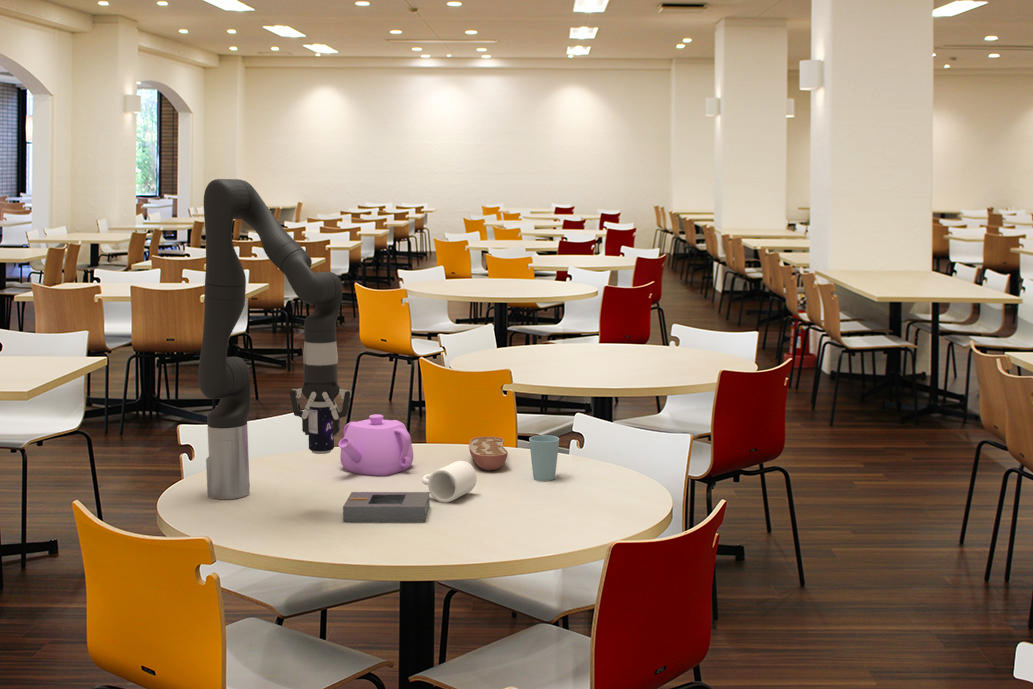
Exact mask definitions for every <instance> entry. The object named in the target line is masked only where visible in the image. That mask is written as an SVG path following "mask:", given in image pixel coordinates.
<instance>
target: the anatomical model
mask: <svg viewBox="0 0 1033 689" xmlns="http://www.w3.org/2000/svg"><path fill="white" fill-rule="evenodd" d="M504 443H505V439H504V438H502V437H498V436H477V437H474V438H472V439H470V441H469V445H468V448H469V453H470V454H469V455H470V456H471V458H472V461H474V462H475V464H477V466H478V467H479V468H481V469H482V470H486V471H496V470H499V469H500V468H501V467H502V466H503V465H505V463H506V461H507V458H508V456H509V453H508V450H507V449H506V448H505V447H504Z"/></svg>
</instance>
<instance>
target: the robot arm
mask: <svg viewBox="0 0 1033 689" xmlns="http://www.w3.org/2000/svg"><path fill="white" fill-rule="evenodd" d="M203 218H204V231H205V233H204V234H205V274H204V275H205V276H204V310H203V311H204V312H203V315H204V316H203V326H202V327H203V329H202V331H203V332H202V340H201V349H200V356H199V361H198V362H199V363H198V371H197V372H198V373H197V379H198V386H199V388H200V389H199V390H200V391H201V393H202V394H203V395H204V397H206V399H207V398H208V399H209V400H216V399H217V400H218V399H220V400H219V402H218V404H216V407H215V408H213V409H212V410H211V411H210V412H208V414H207V416H206V417H207V422H206V424H207V443H208V444H207V446H208V447H207V448H208V449H207V450H208V457H206V459H205V463H206V466H205V467H206V468H205V469H206V487H207V488H206V489H207V491H206V493H207V498H210V499H211V498H213V499H218V500H233V499H241V498H244V497H247V496H249V495H250V493H251V492H250V488H251V487H250V461H249V460H250V459H249V458H250V457H249V436H248V435H249V434H248V433H249V431H248V417H249V414H250V411H251V387H252V386H251V382H252V381H251V374H250V369H249V366H248V364H247V363H246V361H245V360H244V359H243V358H242V357H238V356H228V355H227V354H228V346H229V341H230V338H231V336H232V333H233V331H234V329H235V327H236V325H237V324H238V321H239V320H240V318H241V316H242V314H243V311H244V309H245V305H246V304H245V303H246V293H247V292H246V287H247V285H246V284H247V281H246V280H247V279H246V278H247V277H246V273H245V270H244V267H243V265H242V262H241V261H240V258H239V257H238V255H237V252H236V249H235V247H234V241H233V221H234V220H242V221H243V222H244V223H246V224H247V225H248V226H250V227H251V228H252V229H253V230H254V231H255V232H256V234H257V235H258V237H259V241H260V243H261V245H262V249H263V251H264V253H265V255H266V256H267V258H268V259H269V261H271V262H272V263H273V264H274V266H276V267H277V269H278V270H279V271H280V272H281V273H282V274H283V275H284V276H286V279H287V281H288V283H289V285H290V286H291V289H292V291H293V292H294V294H295V295H296V296H297V298H298V299H299V300H301V301H302V302H303V303H305V304H308V305H312V306H314V309H313V312H312V313H311V314H309V315H307V316H306V317H305V318H304V325H303V327H304V328H303V329H304V332H303V333H304V336H303V337H304V338H303V340H304V341H303V342H304V344H303V352H302V353H303V354H302V355H303V386H302V387H301V388H292V389H291V390H290V391H289V396H290V400H291V401H290V402H291V408H292V413H293V415H294V416H295V417H299V418H301V426H302V429H301V431H302V433H304V434H305V436H309V429H308V414H309V407H310V405H311V404H312V401H313V402H327V404H328V405H329V407H330V411H332V416H333V420H332V431H333V436H334V437H336V436H337V435H338V434H339V432H340V431H341V418H345V417H347V416H348V415H349V410H350V405H351V399H352V393H353V391H352V390H351V389H349V388H348V389H342V388H340V385H339V383H338V382H339V381H338V380H339V378H338V369H339V368H338V366H339V365H338V361H339V356H338V345H337V320H338V317H339V313H340V307H341V304H342V299H343V285H342V282H341V279H340V277H339V276H338V275H337V274H336V273H334V272H333V271H319V272H318V271H317V272H314V271H313V270H312V269H311V268H312V264H313V261H312V257H311V256H310V255H309V253H308V252H307V251H305V249H304V248H302V246H301V245H300V244H299V243H298V242H297V241H296V240H295V239H294V238H293V237H292V236H291V235H290V234H289V233H288V232H287V231H286V230H285V228H284V227H283V226H282V224H280V222H279V221H278V220H277V218H276V217H275V215H274V214H273V213H272V211H271V209H269V207H268V206H267V205H266V203H265V201H264V200H263V199H262V197H261V195H260V194H259V193H258V191H257V190H256V189H255V187H253V186H252V184H251V183H250V182H248V181H247V180H243V179H238V178H217V179H216V178H215V179H212V180H211V181H210V182H209V183H208V184H207V185H206V187H205V190H204V193H203ZM302 394H303V396H304V397H305V399H306V400H307V402H306V405H305V407H304V410H302V409H301V408H302V407H301V403H300V398H301V397H302ZM338 395H340V397H341V399H342V400H343V402H342V407H341V411H340V410H339V408H338V405H337V403H336V400H335V399H336V398H337V397H338ZM328 401H329V402H328ZM330 405H331V406H330Z"/></svg>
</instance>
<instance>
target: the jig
mask: <svg viewBox="0 0 1033 689" xmlns="http://www.w3.org/2000/svg"><path fill="white" fill-rule="evenodd" d="M430 495H431V493H430V491H351V492H350V494H349V496H348V498H347V499H346V501H345V503H344V504H343V506H342V519H343V520H342V522H343V523H426V521H427V520H426V519H427V516H428V513H429V510H430V505H431V504H430V500H431V499H430Z"/></svg>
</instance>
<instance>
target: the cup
mask: <svg viewBox="0 0 1033 689" xmlns="http://www.w3.org/2000/svg"><path fill="white" fill-rule="evenodd" d="M528 439H529V448H530V449H529V450H530V459H531V468H532V470H531V471H532V477H533V480H535V481H539V482H548V481H554V480H555V479H556V472H557V464H558V454H559V445H560V438H559V436H555V435H545V434H542V435H534V436H530V437H529V438H528Z"/></svg>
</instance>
